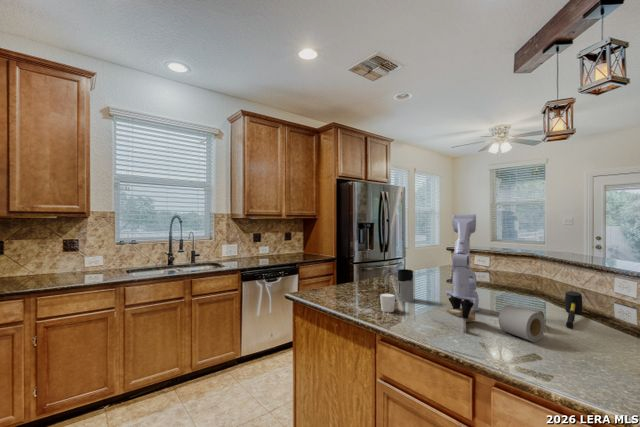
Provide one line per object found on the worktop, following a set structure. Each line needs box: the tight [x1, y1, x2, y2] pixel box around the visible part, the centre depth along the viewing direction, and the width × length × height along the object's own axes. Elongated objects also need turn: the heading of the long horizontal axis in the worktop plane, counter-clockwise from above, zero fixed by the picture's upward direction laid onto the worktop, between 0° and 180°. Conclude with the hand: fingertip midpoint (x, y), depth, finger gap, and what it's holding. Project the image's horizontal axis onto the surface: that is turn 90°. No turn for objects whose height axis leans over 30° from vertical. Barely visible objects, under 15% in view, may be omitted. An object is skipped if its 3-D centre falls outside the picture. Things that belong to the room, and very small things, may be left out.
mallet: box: [564, 290, 583, 330], centre depth 129 cm, size 29×6×10 cm, turn 138°
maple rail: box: [446, 308, 476, 323], centre depth 125 cm, size 12×4×4 cm, turn 115°
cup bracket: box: [430, 306, 467, 334], centre depth 123 cm, size 16×5×5 cm, turn 25°
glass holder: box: [385, 268, 415, 303], centre depth 159 cm, size 9×14×15 cm, turn 89°
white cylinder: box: [517, 304, 545, 319], centre depth 122 cm, size 11×8×8 cm
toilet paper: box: [498, 304, 546, 343], centre depth 111 cm, size 10×10×10 cm
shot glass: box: [379, 292, 396, 313], centre depth 141 cm, size 7×7×7 cm
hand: (461, 316), depth 125 cm, fingers closed on maple rail, 3 cm apart
